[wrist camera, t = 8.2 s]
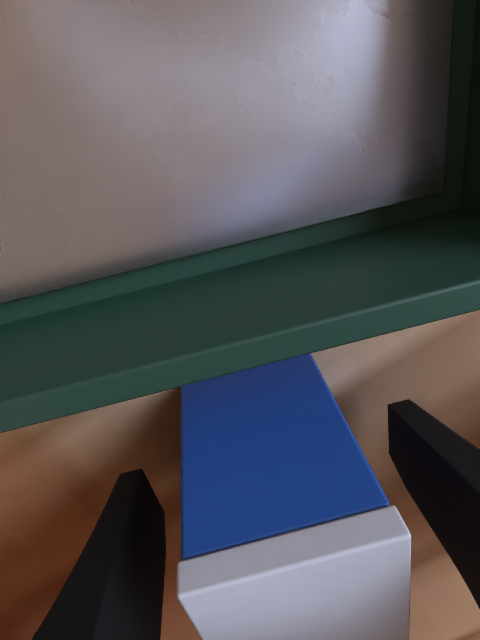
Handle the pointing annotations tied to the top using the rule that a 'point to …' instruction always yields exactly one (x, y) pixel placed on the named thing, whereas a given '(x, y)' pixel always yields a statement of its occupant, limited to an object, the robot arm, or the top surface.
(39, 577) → the top surface
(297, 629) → the block
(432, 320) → the tray
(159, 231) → the steel plate
